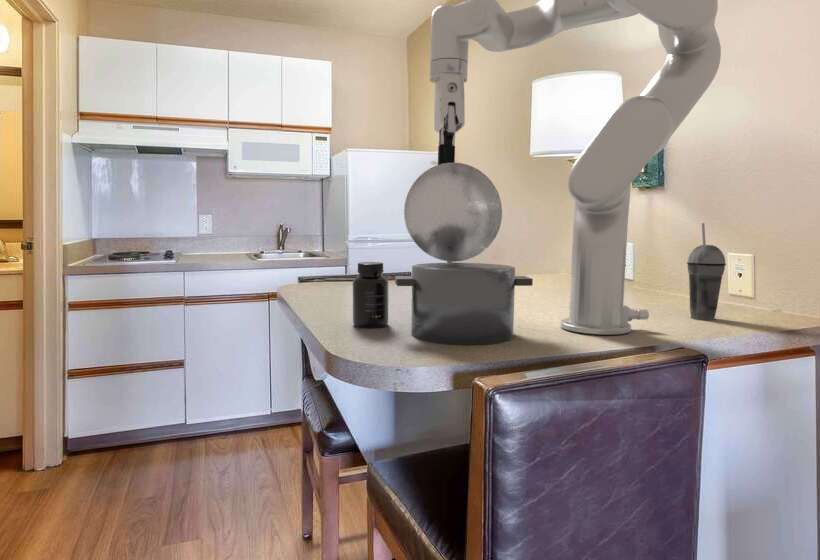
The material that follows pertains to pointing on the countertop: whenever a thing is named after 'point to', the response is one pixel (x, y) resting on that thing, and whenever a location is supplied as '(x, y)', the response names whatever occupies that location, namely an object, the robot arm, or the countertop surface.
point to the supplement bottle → (370, 296)
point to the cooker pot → (463, 302)
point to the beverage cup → (705, 279)
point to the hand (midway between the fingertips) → (446, 165)
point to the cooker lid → (453, 212)
